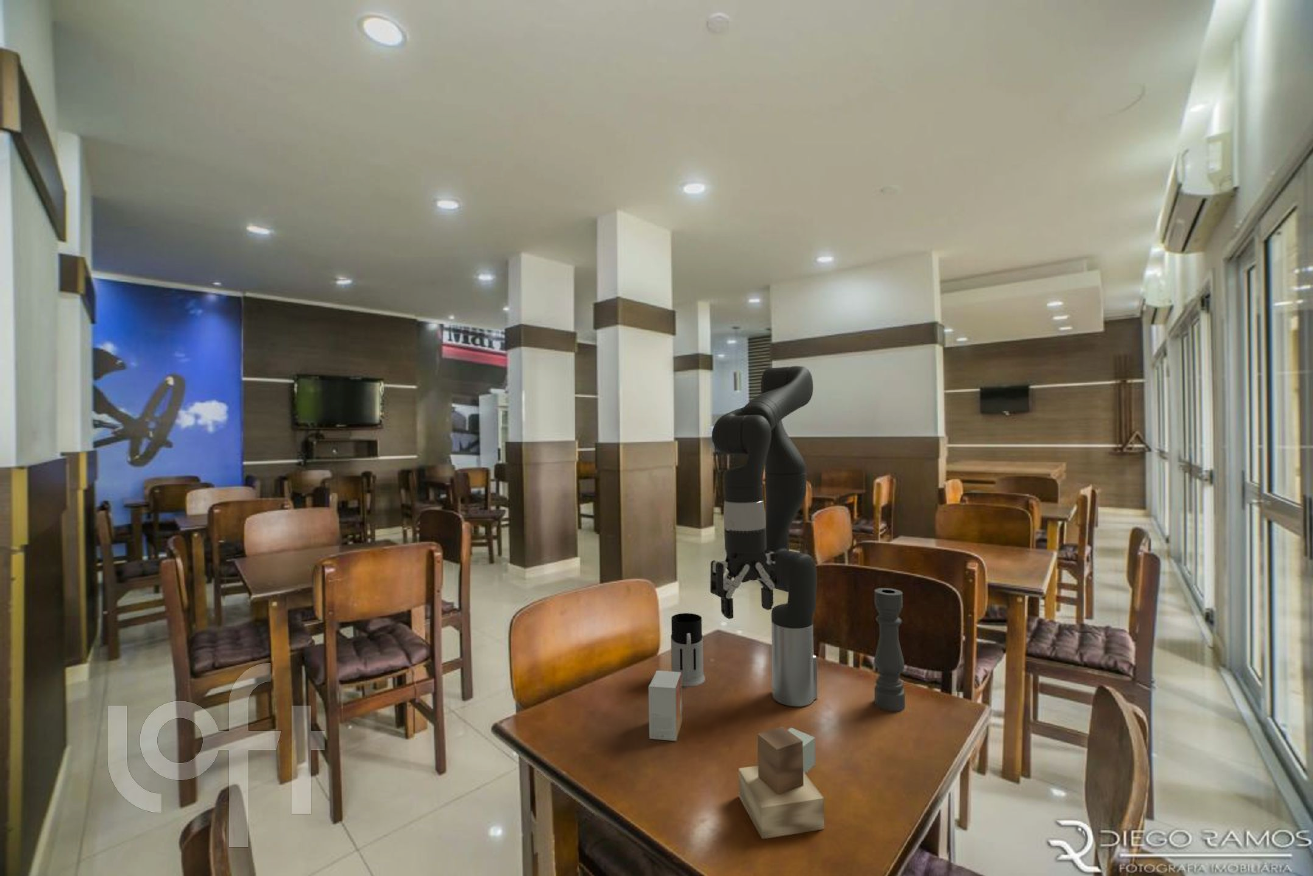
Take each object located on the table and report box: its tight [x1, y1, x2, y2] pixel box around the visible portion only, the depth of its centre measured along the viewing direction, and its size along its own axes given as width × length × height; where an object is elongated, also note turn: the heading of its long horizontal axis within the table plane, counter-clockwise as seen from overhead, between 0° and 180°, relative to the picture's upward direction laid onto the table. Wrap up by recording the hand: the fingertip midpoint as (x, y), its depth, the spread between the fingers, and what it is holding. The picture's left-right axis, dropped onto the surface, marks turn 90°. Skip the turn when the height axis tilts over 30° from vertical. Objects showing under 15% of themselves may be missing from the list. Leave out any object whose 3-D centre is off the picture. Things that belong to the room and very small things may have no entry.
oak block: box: [738, 765, 825, 840], centre depth 88 cm, size 10×10×5 cm
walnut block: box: [757, 726, 804, 795], centre depth 88 cm, size 5×5×7 cm
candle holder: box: [873, 587, 906, 712], centre depth 123 cm, size 6×6×25 cm
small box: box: [648, 670, 683, 742], centre depth 113 cm, size 8×6×10 cm
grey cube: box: [787, 727, 816, 774], centre depth 101 cm, size 5×5×5 cm
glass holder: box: [670, 612, 706, 687], centre depth 134 cm, size 9×14×15 cm, turn 1°
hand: (747, 613), depth 102 cm, fingers open, 8 cm apart
